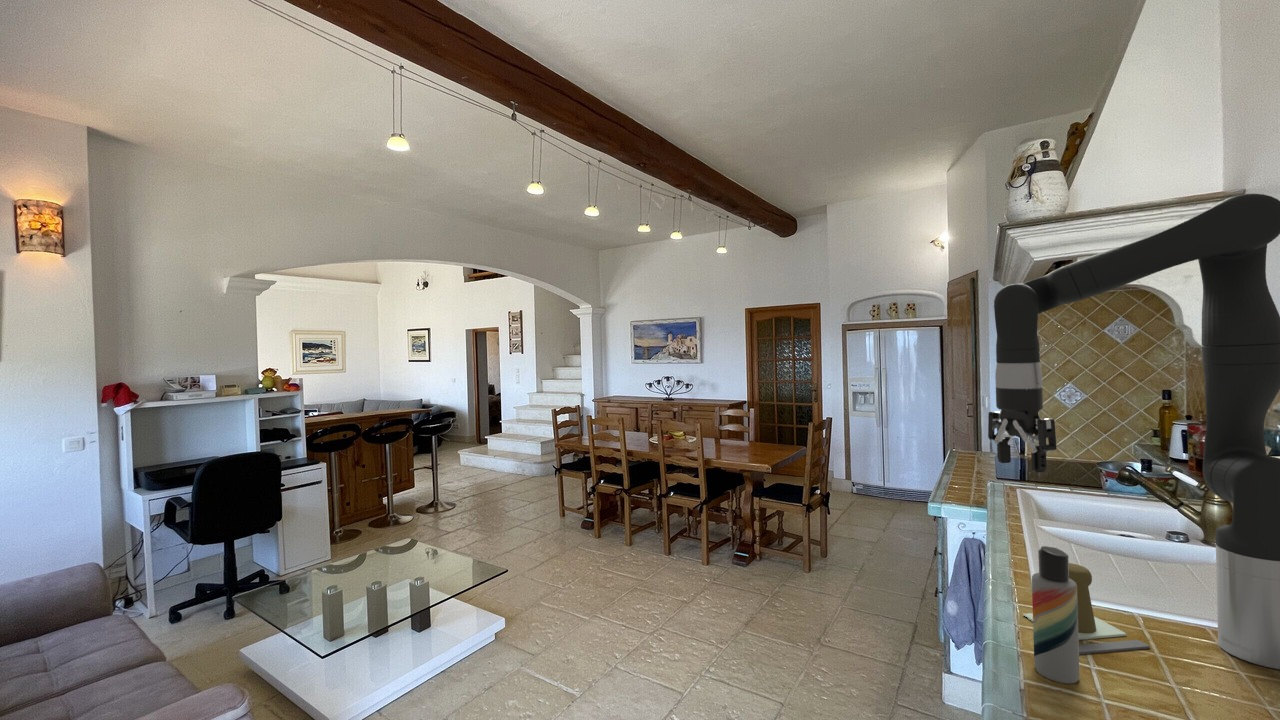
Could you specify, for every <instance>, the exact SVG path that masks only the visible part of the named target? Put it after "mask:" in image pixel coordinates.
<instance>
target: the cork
mask: <svg viewBox="0 0 1280 720" xmlns="http://www.w3.org/2000/svg"><path fill="white" fill-rule="evenodd" d="M1069 578H1070V579H1072V580H1073V581H1074V582H1075V583H1076V584H1077V600H1078V633H1094V632H1096V625H1095V620H1094V611H1093V609H1094V608H1093V606H1092V605H1093V604H1092V599H1091V594H1090V589H1089V586H1091V584H1092V582H1093V576H1092V572H1091V571H1090V570H1089V569H1088V568H1087V567H1085V566H1083V565H1081V564H1078V563H1077V564H1076V563H1071V562H1069Z"/></svg>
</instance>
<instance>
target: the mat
mask: <svg viewBox="0 0 1280 720" xmlns="http://www.w3.org/2000/svg"><path fill="white" fill-rule="evenodd" d="M1024 616H1025V617H1027V618H1028V619H1027V618H1026V619H1027V620H1029V621H1030V620H1031V621H1030V622H1032V623H1033V612H1028V613H1022V617H1024ZM1025 617H1024V618H1025ZM1094 620H1095V625H1096V632H1094V633H1078V635H1079V641H1081V640H1093V639H1104V638H1119V637H1126V636H1127V633H1126V632H1124V631H1122V630H1121V629H1118V628H1117V627H1115V626H1114V625H1111V624H1110V623H1107V622H1105V621H1104V620H1102V619H1100V618H1098V617H1097V616H1094Z"/></svg>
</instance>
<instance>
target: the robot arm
mask: <svg viewBox="0 0 1280 720" xmlns="http://www.w3.org/2000/svg"><path fill="white" fill-rule="evenodd" d="M1279 236H1280V199H1278V198H1276V197H1273V196H1271V195H1268V194H1264V193H1261V194H1260V193H1244V194H1239V195H1234V196H1231V197H1228V198H1226V199H1223V200H1221V201H1219V202H1217V203H1216V204H1214V205H1213V206H1212V207H1210V208H1209V209H1207V210H1205V211H1202V212H1201V213H1199V214H1197V215H1195V216H1193V217H1191V218H1189V219H1187V220H1185V221H1183V222H1181V223H1180V224H1176V225H1174V226H1172V227H1169V228H1167V229H1165V230H1162V231H1160V232H1158V233H1155V234H1153V235H1150V236H1146V237H1144V238H1141V239H1139V240H1136V241H1133V242H1130V243H1126V244H1124V245H1122V246H1117V247H1115V248H1112V249H1109V250H1108V249H1107V250H1106V251H1103V252H1099V253H1098V254H1097V253H1096V254H1094V255H1091V256H1089V257H1086V258H1083V259H1080V260H1077V261H1075V262H1072V263H1069V264H1066V265H1063V266H1061V267H1058V268H1056V269H1054V270H1052V271H1051V272H1049V273H1048V274H1045V275H1044V276H1040V277H1037V278H1034V279H1032V280H1028V281H1025V282H1022V283H1012V284H1008V285H1006V286H1004V287H1002V288H1001V289H1000V290H998V292H997V293H996V295H995V296H994V299H993V300H994V301H993V310H994V321H995V329H996V331H995V332H996V344H995V345H996V346H995V350H996V351H995V355H996V356H995V357H996V363H995V364H996V366H995V367H996V368H995V373H994V374H995V376H994V377H995V379H994V380H995V406H996V408H997V409H998V410H996V411H995V410H993V411H989V412H988V413H987V414H988V420H987V421H988V422H987V425H988V426H987V427H988V428H987V429H988V431H987V438H988V439H989V440H990V441H991V440H993V441H994V443H995V445H996V447H997V448H996V450H997V451H996V453H997V454H996V455H997V460H998V463H1000V464H1009V463H1011V462H1012V455H1011V449H1012V448H1011V444H1010V443H1011V441H1012V439H1013V438H1014V437H1017V438H1020V439H1022V441H1023V442H1024V443H1026V444H1027V445H1028V446H1029V449H1030V450H1031V452H1030V453H1031V454H1030V455H1031V471H1032V472H1034V473H1044V472H1046V470H1047V465H1048V464H1047V453H1048V452H1053V451H1056V450H1057V437H1056V436H1057V435H1056V434H1057V433H1056V425H1055V419H1054V418H1052V417H1051V418H1047V417H1046V418H1040V415H1039V412H1040V411H1041V410H1043V408H1044V403H1043V401H1044V400H1043V399H1044V398H1043V396H1044V395H1043V374H1042V373H1043V372H1042V368H1041V354H1040V352H1041V350H1040V341H1039V337H1038V329H1039V328H1038V326H1039V325H1038V323H1039V319H1038V318H1039V314H1042V313H1045V312H1047V311H1048V312H1049V311H1050V310H1052V309H1055V308H1058V307H1060V306H1063V305H1067V304H1071V303H1075V302H1079V301H1081V300H1085V299H1089V298H1091V297H1095V296H1097V295H1099V294H1104V293H1106V292H1109V291H1111V290H1115V289H1118V288H1120V287H1122V286H1125V285H1128V284H1130V283H1133V282H1135V281H1139V280H1141V279H1143V278H1145V277H1148V276H1151V275H1153V274H1156V273H1160V272H1161V271H1165V270H1167V269H1170V268H1172V267H1176V266H1180V265H1183V264H1186V263H1191V262H1193V261H1197V260H1198V264H1199V271H1200V275H1201V281H1202V304H1201V306H1202V307H1201V356H1202V358H1201V359H1202V366H1203V367H1202V368H1203V369H1202V370H1203V375H1204V376H1203V377H1204V378H1203V379H1204V398H1205V399H1204V402H1205V414H1206V415H1205V416H1206V420H1205V421H1206V423H1205V424H1206V427H1205V435H1204V437H1205V438H1204V447H1203V448H1204V450H1203V459H1202V476H1203V477H1202V478H1203V480H1204V483H1205V485H1206V486H1207V488H1208V489H1209V490H1210V491H1211V493H1213V494H1214V495H1215V496H1217V497H1218V498H1220V499H1222V500H1224V501H1227V502H1229V503H1231V504H1233V505H1232V518H1231V519H1232V520H1231V523H1230V524H1226V525H1225V524H1223V525H1220V526H1219V527H1217V528H1216V530H1215V561H1216V564H1215V565H1216V572H1215V573H1216V607H1217V608H1216V609H1217V611H1216V613H1217V614H1216V615H1217V644H1218V646H1219V647H1220V648H1221V649H1222V650H1223V651H1224V652H1227V653H1228V654H1230V655H1232V656H1234V657H1236V658H1238V659H1240V660H1243V661H1245V662H1249V663H1252V664H1255V665H1257V666H1258V665H1259V666H1262V667H1267V668H1270V669H1275V670H1280V457H1275V456H1271V455H1267V449H1266V448H1267V447H1266V443H1265V441H1266V440H1265V421H1266V417H1267V414H1268V412H1269V409H1270V407H1271V406H1272V405H1273V404H1272V403H1273V402H1274V401H1275V399H1276V397H1277V395H1278V394H1279V392H1280V313H1279V311H1278V309H1277V306H1276V304H1275V301H1274V299H1273V297H1272V294H1271V292H1270V291H1269V290H1270V289H1269V286H1268V283H1267V274H1266V273H1267V269H1266V268H1267V267H1266V266H1267V264H1266V263H1267V248H1268V244H1270V243H1271V242H1273V241H1274V240H1275V239H1276V238H1277V237H1279ZM995 430H996V433H995ZM1047 440H1048V443H1047Z"/></svg>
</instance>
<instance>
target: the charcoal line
mask: <svg viewBox="0 0 1280 720" xmlns="http://www.w3.org/2000/svg"><path fill="white" fill-rule="evenodd" d="M1150 648H1151V646H1150V645H1149V644H1147V643H1145V642H1143V641H1141V640H1139V639H1131V640H1120V641H1118V640H1117V641H1107V642H1096V643H1095V642H1094V643H1085V644H1084V643H1083V644H1079V656H1080V655H1089V654H1090V655H1091V654H1100V653H1101V654H1103V653H1112V652H1124V651H1126V652H1127V651H1137V650H1146V649H1150Z"/></svg>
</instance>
